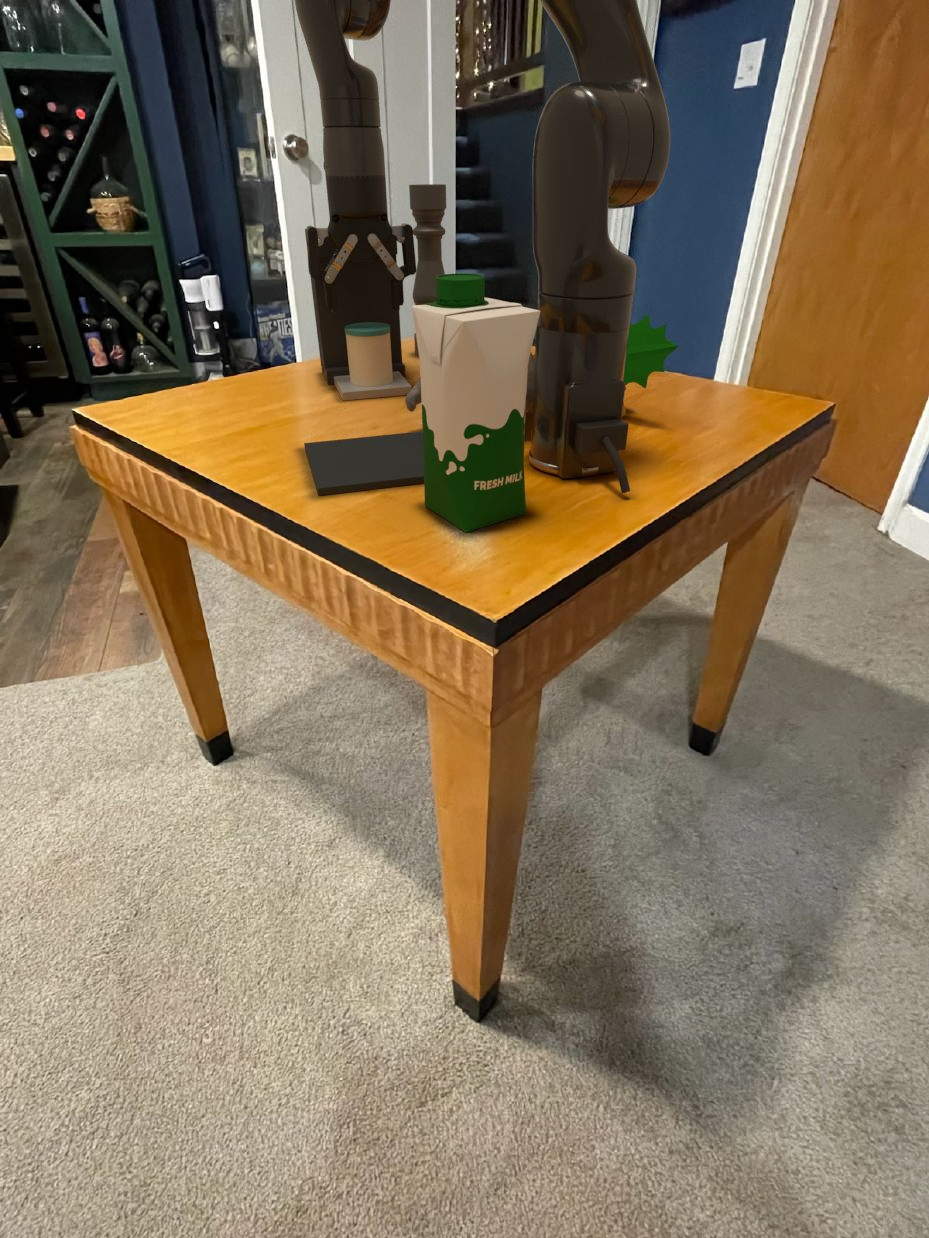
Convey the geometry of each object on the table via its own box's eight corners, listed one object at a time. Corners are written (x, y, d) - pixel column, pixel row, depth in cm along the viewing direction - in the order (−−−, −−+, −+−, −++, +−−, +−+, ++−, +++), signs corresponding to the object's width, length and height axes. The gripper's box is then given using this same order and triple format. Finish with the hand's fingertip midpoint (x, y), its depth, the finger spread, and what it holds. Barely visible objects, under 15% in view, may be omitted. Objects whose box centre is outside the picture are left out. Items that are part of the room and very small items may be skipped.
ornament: (643, 452, 92) (710, 345, 84) (614, 451, 86) (684, 336, 78) (535, 376, 100) (587, 272, 93) (501, 370, 94) (554, 258, 86)
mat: (452, 479, 72) (452, 472, 72) (318, 496, 69) (317, 488, 68) (421, 437, 83) (421, 431, 83) (305, 449, 80) (304, 443, 80)
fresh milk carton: (484, 485, 71) (487, 269, 60) (540, 515, 65) (554, 281, 54) (411, 505, 67) (399, 278, 56) (463, 540, 61) (461, 292, 49)
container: (397, 385, 99) (394, 329, 95) (353, 388, 97) (348, 332, 93) (389, 374, 104) (385, 321, 100) (346, 377, 102) (341, 323, 98)
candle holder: (431, 348, 123) (426, 184, 109) (457, 353, 120) (455, 184, 106) (407, 355, 119) (399, 185, 106) (434, 360, 116) (429, 185, 102)
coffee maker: (418, 394, 99) (412, 236, 88) (335, 401, 96) (317, 239, 85) (395, 366, 113) (386, 226, 102) (321, 372, 110) (304, 229, 99)
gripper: (300, 173, 82) (317, 319, 91) (417, 172, 85) (422, 313, 94) (295, 172, 88) (311, 309, 97) (404, 171, 91) (410, 304, 100)
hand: (366, 311), depth 95 cm, fingers open, 8 cm apart
